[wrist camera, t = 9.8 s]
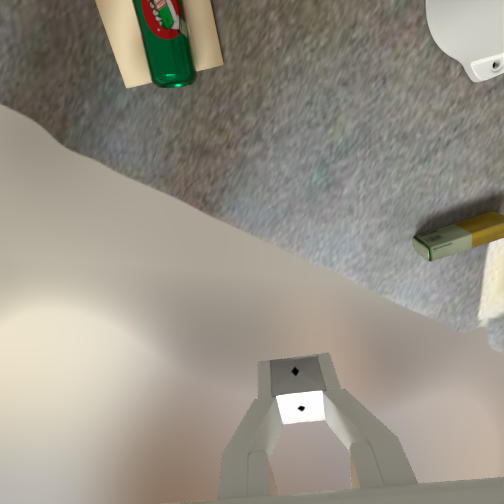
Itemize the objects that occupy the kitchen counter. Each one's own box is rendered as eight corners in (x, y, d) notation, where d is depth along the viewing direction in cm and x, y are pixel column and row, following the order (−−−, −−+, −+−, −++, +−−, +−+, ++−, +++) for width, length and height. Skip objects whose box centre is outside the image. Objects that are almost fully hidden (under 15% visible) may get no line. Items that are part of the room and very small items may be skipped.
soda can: (169, 89, 33) (139, -47, 27) (206, 82, 31) (181, -64, 26) (142, 87, 28) (101, -75, 23) (184, 78, 27) (149, -97, 21)
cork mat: (202, -39, 27) (201, -42, 27) (223, 64, 31) (223, 63, 31) (94, -9, 28) (91, -11, 28) (128, 88, 32) (126, 87, 32)
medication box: (412, 251, 43) (428, 263, 39) (411, 237, 42) (426, 248, 38) (492, 224, 41) (516, 235, 37) (492, 209, 40) (517, 218, 36)
